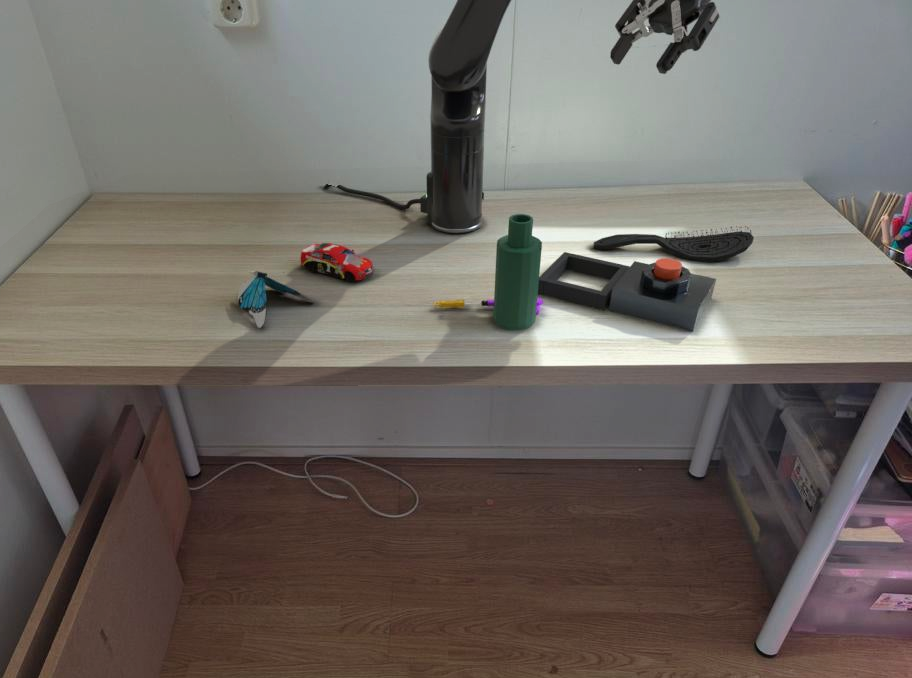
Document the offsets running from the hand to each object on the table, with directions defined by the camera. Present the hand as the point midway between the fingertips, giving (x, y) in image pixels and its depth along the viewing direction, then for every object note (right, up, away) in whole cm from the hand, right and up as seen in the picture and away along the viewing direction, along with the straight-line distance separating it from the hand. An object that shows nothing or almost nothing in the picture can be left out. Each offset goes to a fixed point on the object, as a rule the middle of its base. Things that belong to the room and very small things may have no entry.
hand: (636, 65), depth 104 cm
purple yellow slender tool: (-14, -35, 0) cm, 38 cm away
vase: (-18, -38, -2) cm, 42 cm away
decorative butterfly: (-55, -35, +4) cm, 66 cm away
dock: (-7, -32, +5) cm, 33 cm away
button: (+3, -32, -4) cm, 32 cm away
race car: (-45, -29, +13) cm, 55 cm away
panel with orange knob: (+3, -36, 0) cm, 36 cm away
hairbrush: (+10, -25, +14) cm, 30 cm away
